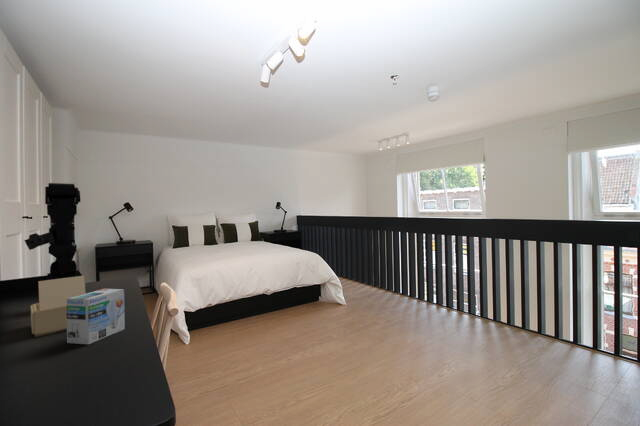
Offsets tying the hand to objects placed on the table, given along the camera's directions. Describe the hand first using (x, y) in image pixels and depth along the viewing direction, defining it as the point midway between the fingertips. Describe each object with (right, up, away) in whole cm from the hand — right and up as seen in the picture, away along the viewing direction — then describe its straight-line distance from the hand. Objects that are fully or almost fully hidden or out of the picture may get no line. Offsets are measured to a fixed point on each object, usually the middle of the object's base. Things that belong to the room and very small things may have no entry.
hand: (63, 274), depth 94 cm
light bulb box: (+23, -12, -17) cm, 31 cm away
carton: (+6, -13, -8) cm, 16 cm away
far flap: (+9, -3, -11) cm, 15 cm away
